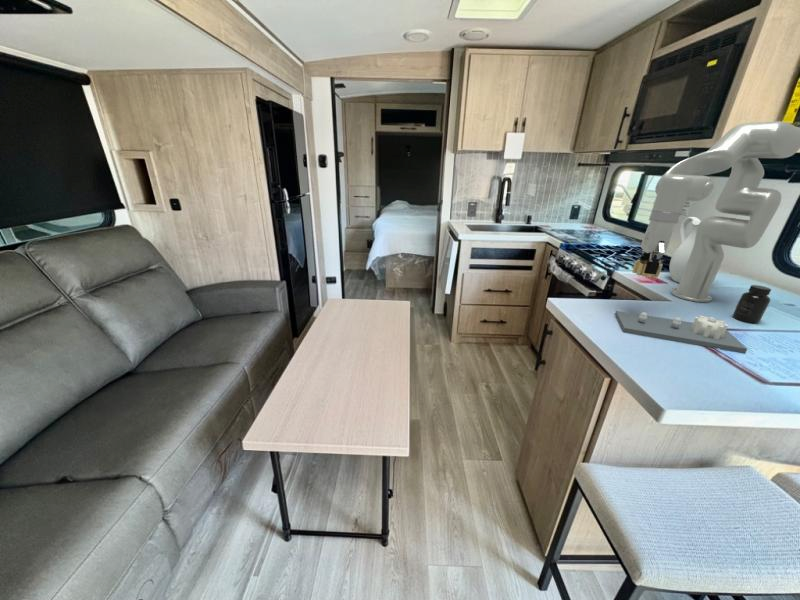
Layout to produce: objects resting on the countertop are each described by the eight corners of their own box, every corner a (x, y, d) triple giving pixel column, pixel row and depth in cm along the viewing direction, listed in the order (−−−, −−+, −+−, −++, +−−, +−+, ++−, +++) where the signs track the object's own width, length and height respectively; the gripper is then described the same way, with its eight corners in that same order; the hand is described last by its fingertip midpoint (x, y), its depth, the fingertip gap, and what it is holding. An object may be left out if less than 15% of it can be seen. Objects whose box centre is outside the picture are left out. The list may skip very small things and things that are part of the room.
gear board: (614, 314, 115) (619, 298, 112) (722, 331, 105) (730, 314, 102) (623, 332, 103) (628, 314, 100) (745, 353, 93) (754, 334, 90)
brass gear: (630, 269, 116) (633, 258, 114) (655, 272, 113) (659, 261, 112) (634, 275, 110) (638, 264, 108) (661, 278, 107) (665, 267, 106)
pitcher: (721, 290, 140) (750, 224, 129) (677, 287, 142) (702, 222, 131) (686, 272, 161) (709, 215, 150) (649, 270, 164) (668, 213, 153)
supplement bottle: (764, 325, 110) (782, 292, 105) (741, 322, 111) (757, 290, 106) (749, 316, 116) (764, 284, 111) (726, 314, 117) (741, 282, 112)
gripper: (643, 212, 113) (628, 262, 120) (658, 220, 98) (639, 276, 105) (669, 214, 110) (652, 264, 117) (688, 222, 95) (667, 279, 102)
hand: (646, 269), depth 111 cm, fingers closed on brass gear, 7 cm apart
